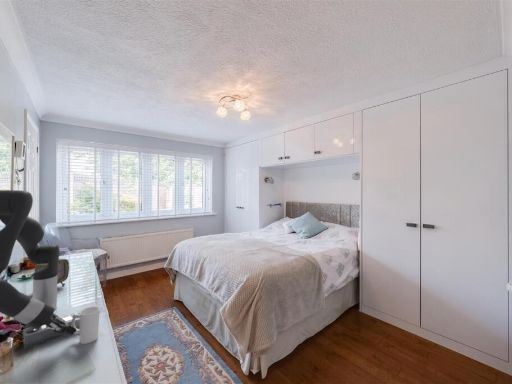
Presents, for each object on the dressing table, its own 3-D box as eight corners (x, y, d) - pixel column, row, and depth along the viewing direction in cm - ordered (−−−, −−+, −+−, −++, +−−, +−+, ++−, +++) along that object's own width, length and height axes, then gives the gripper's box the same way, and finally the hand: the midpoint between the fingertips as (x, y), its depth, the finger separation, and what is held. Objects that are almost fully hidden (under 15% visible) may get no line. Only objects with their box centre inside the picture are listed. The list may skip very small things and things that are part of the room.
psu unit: (22, 341, 94) (23, 328, 94) (82, 321, 109) (83, 310, 109) (24, 349, 89) (25, 336, 89) (87, 327, 105) (87, 315, 105)
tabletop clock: (43, 295, 134) (45, 251, 134) (31, 293, 136) (32, 250, 136) (68, 285, 148) (69, 246, 148) (57, 283, 150) (58, 245, 150)
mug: (101, 333, 100) (102, 306, 100) (93, 343, 94) (94, 314, 94) (75, 335, 99) (76, 307, 99) (65, 345, 92) (66, 315, 92)
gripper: (46, 309, 82) (87, 328, 91) (40, 297, 91) (78, 316, 100) (25, 330, 78) (69, 349, 87) (20, 316, 86) (61, 334, 96)
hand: (74, 331), depth 94 cm, fingers closed
